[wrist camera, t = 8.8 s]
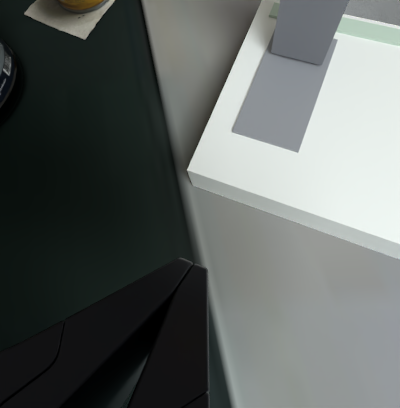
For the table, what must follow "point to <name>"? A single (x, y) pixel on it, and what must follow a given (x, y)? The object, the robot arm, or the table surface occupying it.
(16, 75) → the supplement container
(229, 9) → the table surface
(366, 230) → the box
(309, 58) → the orange-capped grey pillar
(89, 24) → the condiment
